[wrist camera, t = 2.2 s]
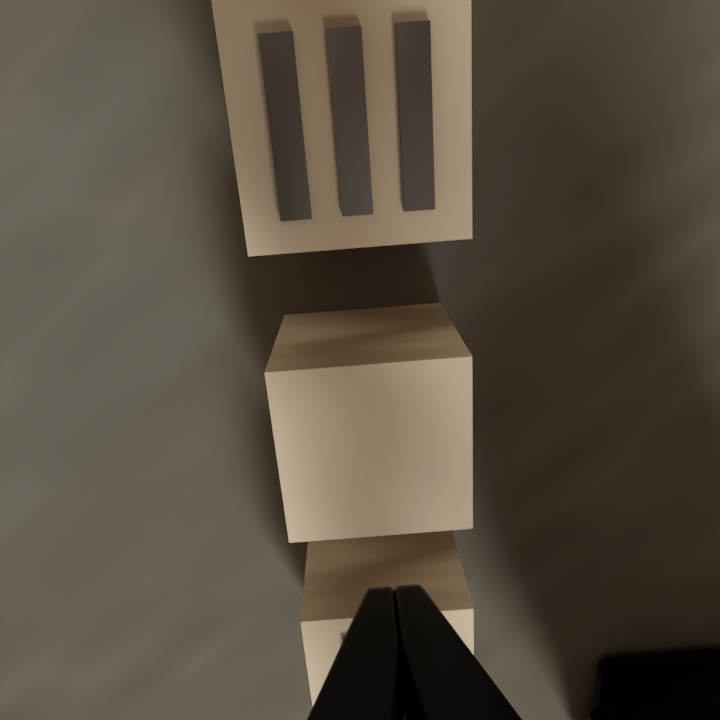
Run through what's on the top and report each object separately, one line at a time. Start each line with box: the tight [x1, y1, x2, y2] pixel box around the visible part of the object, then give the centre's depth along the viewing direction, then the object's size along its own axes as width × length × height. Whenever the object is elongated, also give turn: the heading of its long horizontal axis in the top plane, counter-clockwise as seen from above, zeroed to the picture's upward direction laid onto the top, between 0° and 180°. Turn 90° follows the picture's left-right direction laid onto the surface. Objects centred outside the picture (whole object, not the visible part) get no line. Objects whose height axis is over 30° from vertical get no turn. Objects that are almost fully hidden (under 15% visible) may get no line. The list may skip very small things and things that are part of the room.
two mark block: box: [301, 530, 474, 706], centre depth 18 cm, size 4×4×5 cm
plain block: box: [264, 303, 473, 543], centre depth 15 cm, size 4×4×4 cm
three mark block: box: [211, 0, 472, 257], centre depth 13 cm, size 4×4×5 cm
